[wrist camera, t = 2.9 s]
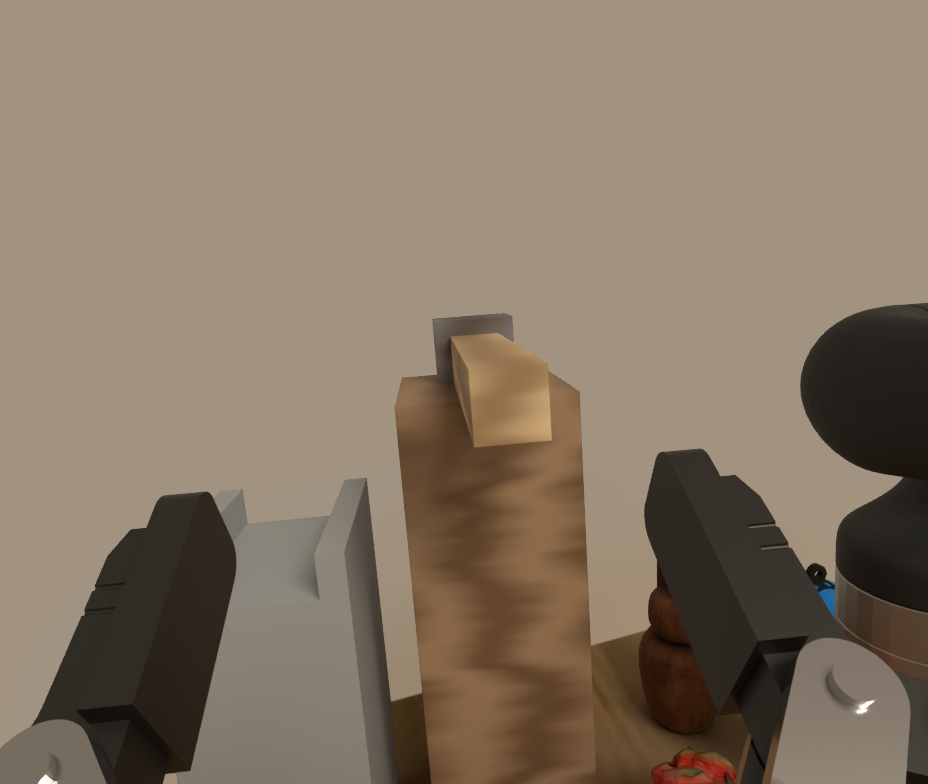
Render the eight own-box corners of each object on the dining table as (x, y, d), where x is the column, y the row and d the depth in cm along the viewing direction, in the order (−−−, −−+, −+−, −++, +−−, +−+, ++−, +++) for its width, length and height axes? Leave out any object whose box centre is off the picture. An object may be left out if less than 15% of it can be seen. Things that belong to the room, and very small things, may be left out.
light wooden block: (507, 369, 43) (503, 313, 42) (577, 438, 23) (572, 334, 23) (437, 375, 43) (432, 318, 42) (448, 449, 23) (439, 345, 22)
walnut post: (561, 735, 49) (541, 366, 44) (600, 862, 38) (579, 391, 33) (437, 749, 48) (401, 377, 43) (441, 882, 38) (394, 407, 32)
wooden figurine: (630, 695, 53) (625, 532, 50) (693, 686, 53) (692, 524, 51) (664, 753, 46) (660, 569, 44) (736, 742, 47) (736, 560, 44)
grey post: (398, 773, 46) (366, 477, 42) (389, 939, 34) (344, 551, 30) (265, 789, 46) (220, 491, 42) (210, 963, 34) (139, 571, 30)
